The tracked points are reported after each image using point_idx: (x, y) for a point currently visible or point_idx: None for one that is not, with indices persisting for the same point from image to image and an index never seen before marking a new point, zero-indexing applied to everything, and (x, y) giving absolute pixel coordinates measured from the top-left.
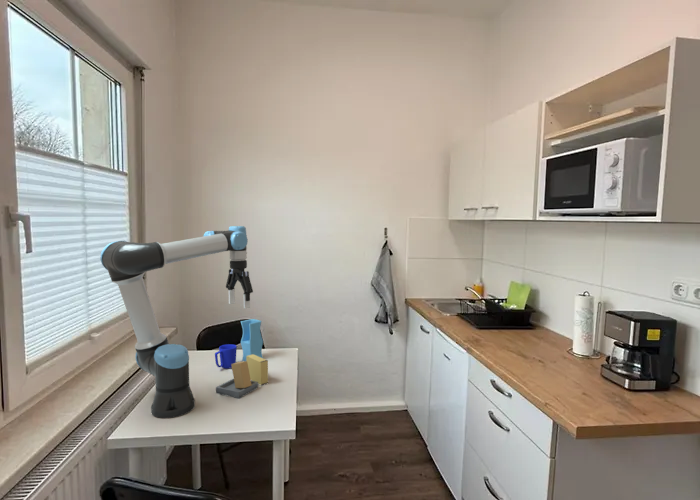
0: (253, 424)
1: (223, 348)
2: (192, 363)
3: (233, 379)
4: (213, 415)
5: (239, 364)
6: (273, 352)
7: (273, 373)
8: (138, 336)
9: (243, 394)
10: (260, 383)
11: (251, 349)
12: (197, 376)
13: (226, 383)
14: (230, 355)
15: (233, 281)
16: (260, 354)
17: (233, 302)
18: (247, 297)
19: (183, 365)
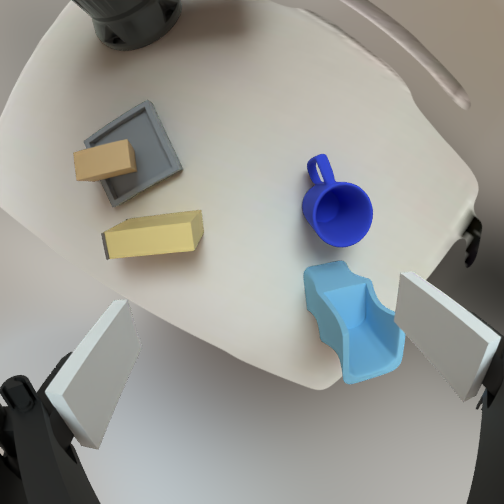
0: (4, 138)
1: (362, 207)
2: (409, 142)
3: (168, 157)
4: (61, 79)
5: (77, 152)
6: None
7: (186, 282)
8: None
9: None
10: (130, 219)
11: (315, 290)
12: (304, 103)
13: (156, 131)
14: (308, 207)
15: (495, 497)
16: (313, 310)
17: (400, 313)
18: (50, 379)
19: None
